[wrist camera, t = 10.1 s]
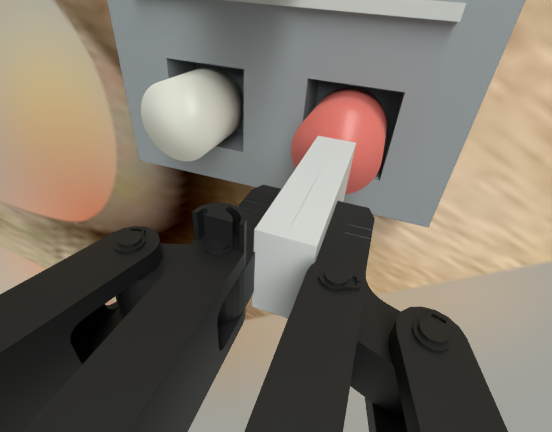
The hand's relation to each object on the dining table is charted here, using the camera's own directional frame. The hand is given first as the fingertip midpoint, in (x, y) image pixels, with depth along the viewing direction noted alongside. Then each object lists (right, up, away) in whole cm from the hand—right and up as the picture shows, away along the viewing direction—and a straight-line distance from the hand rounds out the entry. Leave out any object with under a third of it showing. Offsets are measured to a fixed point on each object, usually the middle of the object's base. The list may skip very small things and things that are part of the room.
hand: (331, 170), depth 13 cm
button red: (+2, +3, +4) cm, 5 cm away
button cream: (-6, +5, +6) cm, 10 cm away
